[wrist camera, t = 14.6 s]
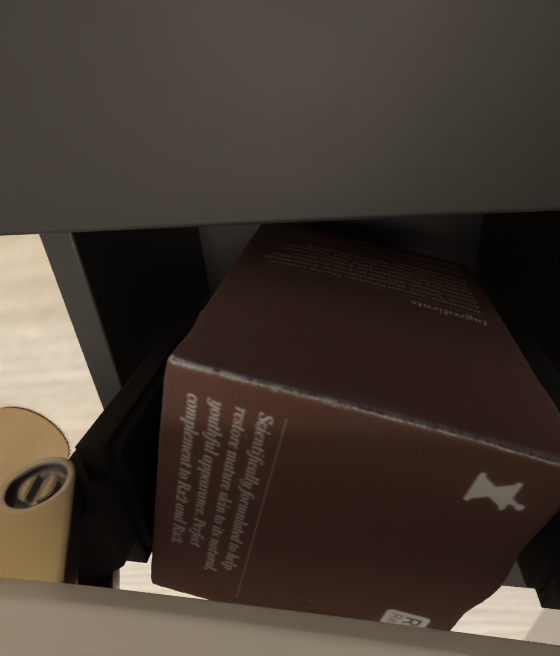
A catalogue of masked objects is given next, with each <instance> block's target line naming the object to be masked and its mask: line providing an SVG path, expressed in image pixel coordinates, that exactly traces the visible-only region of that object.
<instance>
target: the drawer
mask: <svg viewBox="0 0 560 656" xmlns="http://www.w3.org/2000/svg"><path fill="white" fill-rule="evenodd" d="M294 224H298V225H302V226H306V227H311V228H315V229H320V230H324V231H328V232H332V233H335V234H339V235H345V236H349V237H353V238H357V239H361V240H364V241H369V242H373V243H377V244H382V245H386V246H390V247H393V248H397V249H403V250H407V251H411V252H415V253H418V254H424V255H428V256H431V257H436V258H440V259H444V260H448V261H451V262H456V263H461V264H465V265H467V266H469V267H470V268H471V269H472V271H473V273H474V274H475V276H476V278H477V280H478V281H479V282H480V284H481V286H482V288H483V289H484V291H485V293H486V294H487V296H488V298H489V299H490V301H491V303H492V304H493V306H494V307H495V309H496V311H497V313H498V314H499V316H500V318H501V320H502V321H503V322H504V324H505V326H506V327H507V329H508V331H509V333H510V334H511V336H512V338H513V339H514V340H535V341H536V342H537V343H538V345H539V346H540V348H541V349H542V351H543V352H544V353H545V355H546V356H547V358H548V359H549V361H550V362H551V364H552V365H553V366H554V368H555V369H556V371H557V372H558V374H559V375H560V211H539V212H517V213H495V214H472V215H450V216H428V217H405V218H383V219H361V220H338V221H316V222H294ZM260 225H261V224H249V225H227V226H204V227H182V228H160V229H137V230H115V231H93V232H70V233H48V234H39V235H40V237H41V240H42V243H43V246H44V248H45V251H46V254H47V256H48V259H49V262H50V265H51V267H52V270H53V273H54V275H55V278H56V281H57V284H58V286H59V289H60V292H61V294H62V297H63V300H64V303H65V305H66V308H67V311H68V313H69V316H70V319H71V322H72V324H73V327H74V330H75V333H76V335H77V338H78V341H79V343H80V346H81V349H82V352H83V354H84V357H85V360H86V362H87V365H88V368H89V371H90V373H91V376H92V379H93V381H94V384H95V387H96V390H97V392H98V395H99V398H100V401H101V403H102V406H103V409H104V410H105V408H106V407H107V406H108V405H109V403H110V402H111V401H112V399H113V398H114V397H115V396H116V394H117V393H118V392H119V391H120V389H121V388H122V387H123V385H124V384H125V383H126V382H127V380H128V379H129V378H130V377H131V375H132V374H133V373H134V371H135V370H136V369H137V368H138V366H139V365H140V364H141V363H142V361H143V360H144V359H145V357H146V356H147V355H148V354H149V352H150V351H151V350H152V349H153V347H154V346H155V345H156V343H157V342H158V341H159V340H160V339H161V338H162V337H184V338H185V337H186V336H187V335H188V333H189V332H190V330H191V329H192V328H193V326H194V324H195V322H196V320H197V318H198V315H199V313H200V312H201V311H202V310H203V309H204V308H205V306H206V305H207V303H208V302H209V300H210V299H211V297H212V296H213V294H214V293H215V292H216V290H217V289H218V287H219V286H220V285H221V283H222V281H223V280H224V278H225V277H226V275H227V274H228V272H229V270H230V268H231V267H232V265H233V264H234V263H235V261H236V260H237V259H238V257H239V256H240V254H241V253H242V251H243V249H244V248H245V247H246V245H247V244H248V242H249V241H250V239H251V238H252V236H253V235H254V234H255V232H256V231H257V229H258V228H259V226H260ZM502 586H513V587H523V588H530V587H527V586H526V584H525V582H524V580H523V578H522V575H521V572H520V569H519V566H518V563H517V560H515V563H514V566H513V567H512V569H511V572H510V574H509V576H508V577H507V579H506V580H505V581H504V583H503V585H502ZM534 589H535V588H534Z"/></svg>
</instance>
